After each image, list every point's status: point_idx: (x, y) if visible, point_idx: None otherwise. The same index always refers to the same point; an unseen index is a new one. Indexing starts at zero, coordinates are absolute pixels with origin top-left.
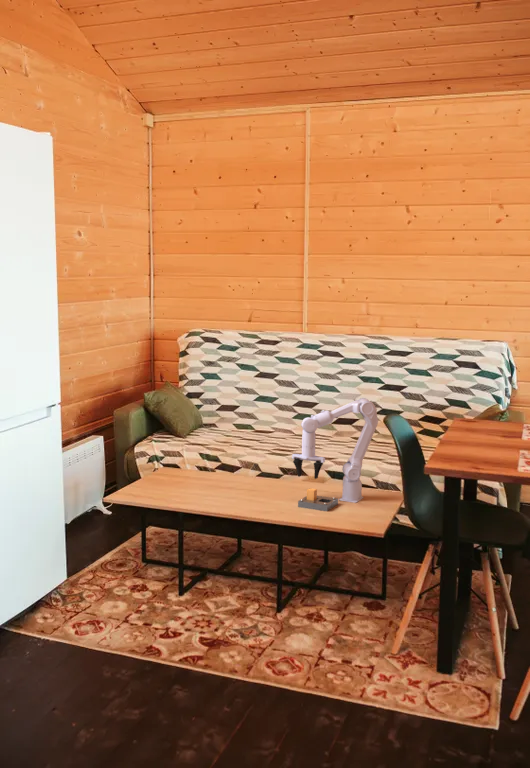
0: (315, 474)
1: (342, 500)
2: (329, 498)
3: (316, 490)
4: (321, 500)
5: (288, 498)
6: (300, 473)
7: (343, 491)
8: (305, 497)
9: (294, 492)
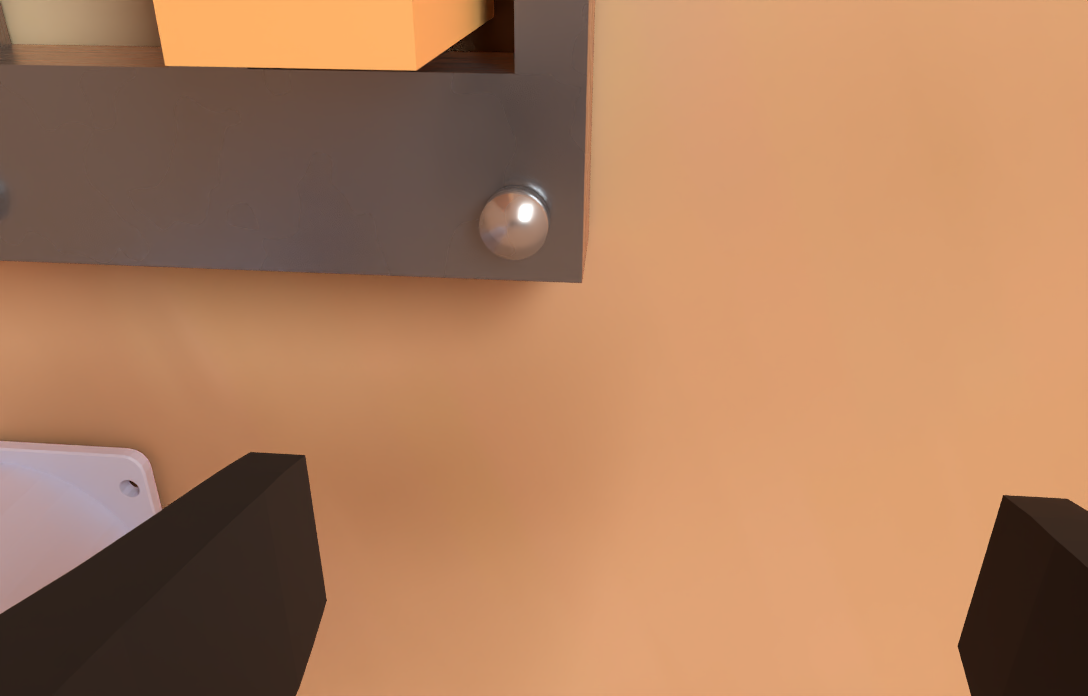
0: (151, 543)
1: (78, 447)
2: (52, 172)
3: (176, 23)
4: None
5: (1061, 182)
6: (1024, 662)
7: (9, 589)
8: None
9: None
